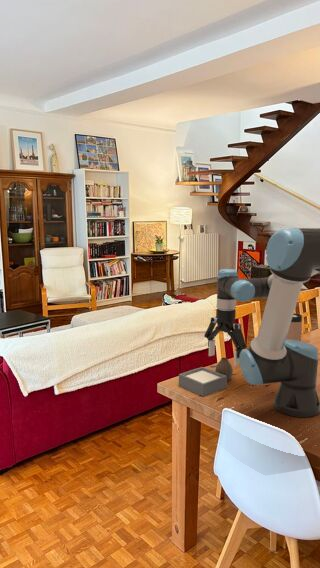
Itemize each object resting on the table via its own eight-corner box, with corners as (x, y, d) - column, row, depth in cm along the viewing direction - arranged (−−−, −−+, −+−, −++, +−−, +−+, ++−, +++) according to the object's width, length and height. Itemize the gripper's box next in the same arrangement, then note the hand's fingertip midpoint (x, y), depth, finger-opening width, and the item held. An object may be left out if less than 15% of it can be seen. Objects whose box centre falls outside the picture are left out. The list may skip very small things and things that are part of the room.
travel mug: (279, 355, 205) (281, 314, 202) (291, 353, 208) (294, 312, 205) (290, 360, 198) (292, 317, 195) (303, 358, 201) (306, 316, 198)
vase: (212, 380, 173) (213, 359, 172) (218, 375, 179) (219, 354, 178) (229, 383, 170) (229, 362, 169) (234, 378, 176) (235, 357, 175)
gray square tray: (226, 387, 166) (227, 376, 166) (203, 396, 158) (203, 384, 157) (202, 377, 176) (202, 366, 175) (178, 385, 168) (178, 374, 167)
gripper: (257, 313, 163) (254, 367, 167) (209, 301, 182) (208, 350, 186) (244, 316, 158) (242, 371, 162) (196, 304, 177) (195, 353, 181)
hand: (223, 360), depth 174 cm, fingers open, 13 cm apart
